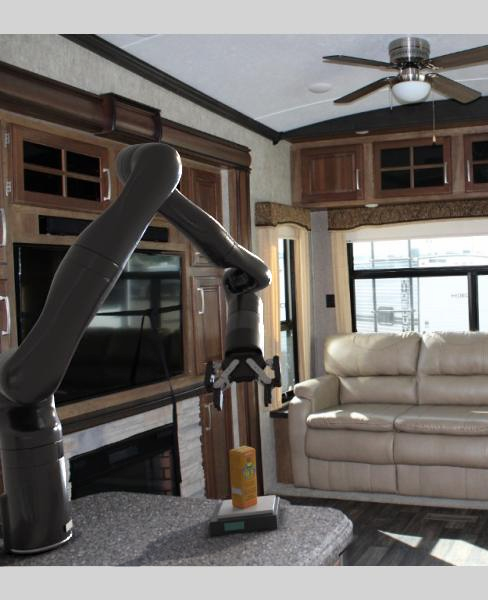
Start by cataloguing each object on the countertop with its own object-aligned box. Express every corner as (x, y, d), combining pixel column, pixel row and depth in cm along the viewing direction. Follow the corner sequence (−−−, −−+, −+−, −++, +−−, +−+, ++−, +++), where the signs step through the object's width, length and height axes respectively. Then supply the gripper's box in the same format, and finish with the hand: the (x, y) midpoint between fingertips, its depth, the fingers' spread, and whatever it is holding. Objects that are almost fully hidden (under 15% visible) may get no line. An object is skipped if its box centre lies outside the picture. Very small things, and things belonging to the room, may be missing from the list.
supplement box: (244, 510, 114) (240, 452, 114) (231, 506, 116) (227, 449, 116) (259, 503, 117) (255, 447, 116) (246, 500, 119) (242, 444, 118)
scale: (210, 536, 111) (208, 519, 111) (218, 516, 120) (216, 500, 120) (277, 529, 113) (276, 511, 113) (280, 509, 122) (278, 493, 122)
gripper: (204, 328, 130) (199, 398, 120) (279, 323, 132) (280, 391, 121) (211, 352, 136) (206, 421, 125) (282, 347, 138) (283, 414, 127)
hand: (242, 406), depth 123 cm, fingers open, 8 cm apart
